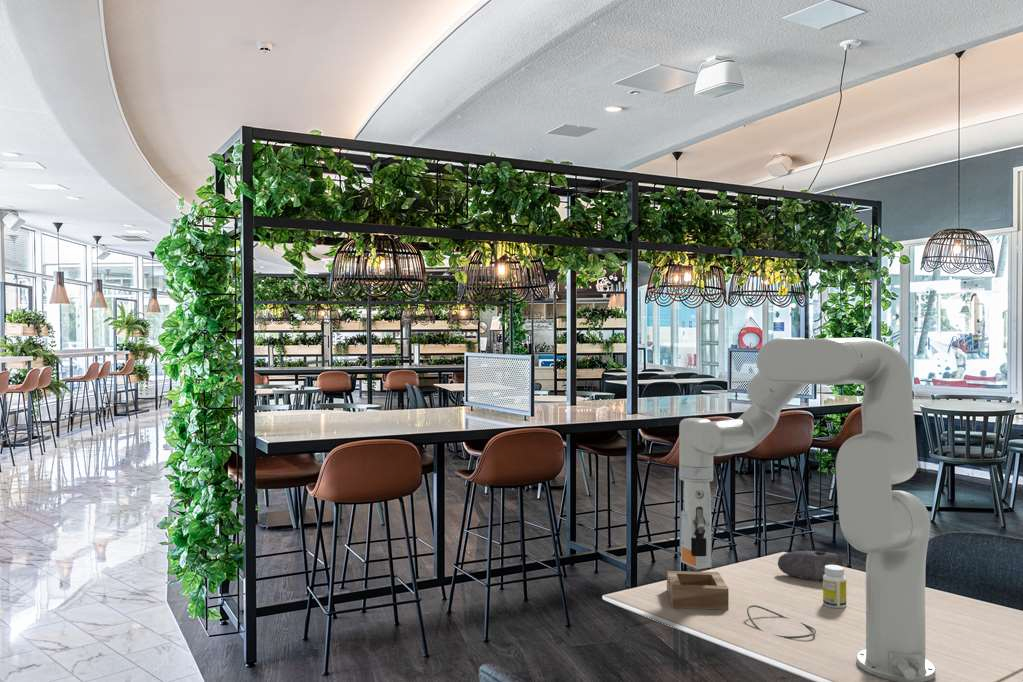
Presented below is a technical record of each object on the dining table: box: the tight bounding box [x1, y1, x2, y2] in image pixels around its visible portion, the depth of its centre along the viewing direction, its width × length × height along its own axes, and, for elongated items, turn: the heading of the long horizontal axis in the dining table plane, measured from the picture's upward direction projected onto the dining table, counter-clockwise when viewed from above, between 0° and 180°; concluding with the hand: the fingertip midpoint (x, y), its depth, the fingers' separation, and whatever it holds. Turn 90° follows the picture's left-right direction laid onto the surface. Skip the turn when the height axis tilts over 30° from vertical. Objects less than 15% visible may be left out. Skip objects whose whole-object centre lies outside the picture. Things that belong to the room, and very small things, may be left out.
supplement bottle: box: [822, 565, 847, 609], centre depth 169 cm, size 5×5×8 cm
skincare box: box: [680, 510, 713, 570], centre depth 173 cm, size 6×4×12 cm
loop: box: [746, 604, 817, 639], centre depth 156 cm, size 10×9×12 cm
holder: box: [666, 570, 729, 610], centre depth 173 cm, size 12×12×4 cm
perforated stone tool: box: [777, 550, 844, 581], centre depth 188 cm, size 15×5×7 cm, turn 60°
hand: (696, 550), depth 173 cm, fingers closed on skincare box, 7 cm apart
